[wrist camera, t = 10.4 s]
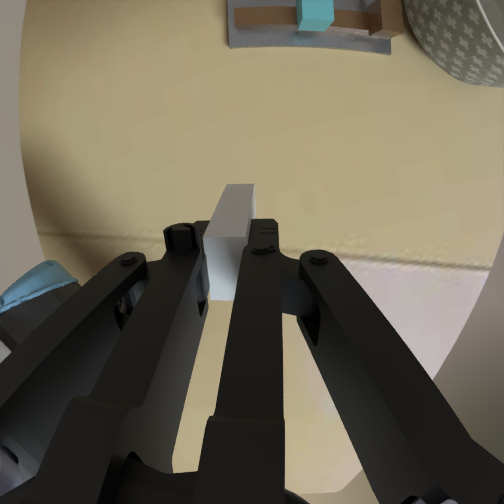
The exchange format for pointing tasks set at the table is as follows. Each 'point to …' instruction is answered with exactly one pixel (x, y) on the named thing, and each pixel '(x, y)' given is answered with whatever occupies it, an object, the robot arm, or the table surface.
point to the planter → (462, 37)
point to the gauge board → (334, 37)
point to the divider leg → (314, 14)
